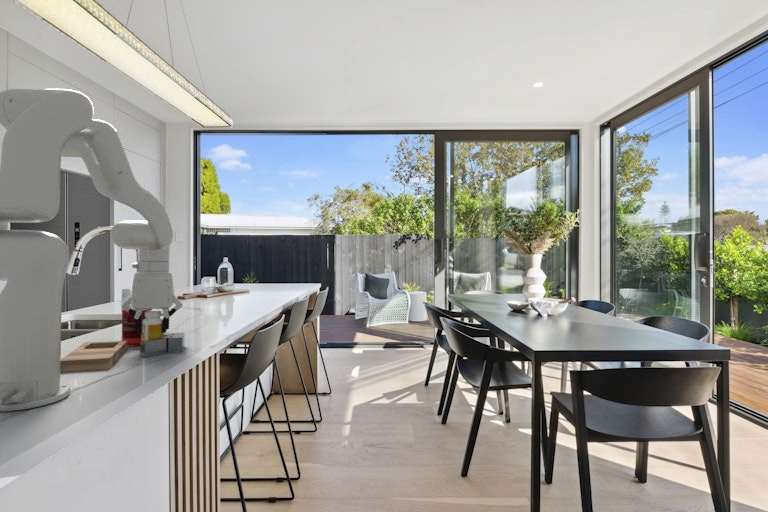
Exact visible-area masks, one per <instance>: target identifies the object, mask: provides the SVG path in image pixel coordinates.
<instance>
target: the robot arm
mask: <svg viewBox="0 0 768 512" xmlns="http://www.w3.org/2000/svg"><path fill="white" fill-rule="evenodd" d="M0 125H1V126H2V127H3V128H4V129H6V132H5V133H4V136H3V138H2V139H3V140H2V143H1V156H0V282H3V281H4V282H6V283H5V285H4V287H3V289H2V290H1V291H0V412H15V411H20V410H21V411H22V410H27V409H33V408H37V407H44V406H46V405H50V404H53V403H56V402H58V401H61V400H63V399H65V398H66V397H68V395H70V393H71V387H70V386H69V385H68V384H65V383H61V372H60V364H61V359H62V357H61V354H62V351H61V350H62V347H61V346H62V306H63V305H62V301H63V300H62V298H63V288H64V282H65V277H66V273H67V270H68V266H69V263H70V262H69V261H70V250H69V247H68V245H67V243H66V242H65V240H63V239H62V238H61V237H60V236H58V235H56V234H55V233H51V232H47V231H45V230H44V231H43V230H36V229H35V230H32V229H8V227H9V226H8V224H9V223H18V224H21V223H22V224H23V223H24V224H26V223H27V224H29V223H30V224H31V223H44V222H49V221H51V220H53V219H54V218H55V217H56V216H57V215H58V213H59V211H60V201H61V168H62V167H61V165H62V164H61V162H62V158H81V159H82V160H83V162H84V165H85V167H86V169H87V171H88V174H89V176H90V178H91V181H92V182H93V185H94V187H95V189H96V191H97V192H98V193H99V194H101V195H102V196H104V197H107V198H108V199H111V200H113V201H115V202H118V203H120V204H122V205H125V206H128V207H129V208H131V209H133V210H134V211H136V212H138V213H139V214H140V215H141V216H142V217H143V218H144V219H145V220H140V219H139V220H131V219H130V220H129V219H128V220H121V221H119V222H116V223H115V224H114V225H113V226H112V228H111V229H110V234H109V236H110V239H111V241H112V243H113V244H114V245H115V246H116V247H118V248H120V249H123V250H138V261H137V262H134V263H133V262H132V266H131V268H132V269H137V271H138V272H134V275H133V278H132V279H133V280H132V287H131V295H130V297H129V298H128V299H127V300H126V301H125V302H124V303H123V304H122V305H121V308H122V309H124V310H126V311H127V312H129V314H131V315H132V316H133V317H134V318H135V319H136V328H135V329H136V330H138V334H140V333H141V330H142V321H143V318H142V316H141V315H142V312H143V310H144V309H152V310H162V313H163V318H162V319H163V328H162V332H163V333H167V332H168V330H169V329H170V317H171V316H173V315H174V314H175V313H176V312H177V311H179V310H180V309H181V308H183V305H184V304H183V303H182V302H181V301H180V300H179V298H178V297H177V296H176V295H175V294H174V289H175V288H174V280H173V275H172V272H170V249H171V247H170V246H171V244H172V242H173V239H174V238H173V237H174V233H173V229H172V225H171V220H170V218H169V215H168V213H167V210H166V208H165V207H164V205H163V204H162V202H160V200H159V199H158V198H157V197H156V196H154V195H153V194H152V192H150V191H149V190H148V189H147V188H145V186H143V185H141V183H139V182H138V181H137V180H136V178H135V174H134V173H133V172H134V171H133V169H132V167H131V165H130V162H129V159H128V158H127V155H126V152H125V150H124V146H123V144H122V142H121V138H120V136H119V134H118V132H117V129H116V128H115V127H114V126H113V125H112V124H110V123H109V122H107V121H105V120H101V119H94V106H93V102H92V100H91V99H90V98H89V96H87V95H85V94H84V93H82V92H81V91H77V90H73V89H66V88H11V89H5V90H2V91H0ZM174 304H175V306H174V307H173V305H174ZM130 306H132V308H135V309H137V311H135V310H134V309H132V308H131V307H130ZM171 307H172V308H171ZM170 308H171V309H170Z"/></svg>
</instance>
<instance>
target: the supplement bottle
mask: <svg viewBox="0 0 768 512" xmlns="http://www.w3.org/2000/svg"><path fill="white" fill-rule="evenodd" d="M161 316H162V311H161V310H152V311H146V312H145V317H146V319H144V320H143V321H142V330H141V341H145V340H150V339H155V338H160V337H163V332H162V328H163V318H161Z"/></svg>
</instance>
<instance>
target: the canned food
mask: <svg viewBox="0 0 768 512" xmlns="http://www.w3.org/2000/svg"><path fill="white" fill-rule="evenodd" d="M130 307H131V308H132V306H131V305H130ZM132 309H134V310H135V311H137V309H135V308H132ZM146 311H153V309H144V310H143V312H142V315H141V316H142V318H143V320H144V319H146V317H145V312H146ZM135 328H136V319H135V318H134V317H133V316H132V315H131V314H129V312H127V311H126V310H124V309H123V308H122V311H121V341H127V347H139V346H140V341H141V333H140V334H138V330H136V329H135Z"/></svg>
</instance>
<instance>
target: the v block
mask: <svg viewBox="0 0 768 512" xmlns="http://www.w3.org/2000/svg"><path fill="white" fill-rule="evenodd" d="M185 334H186V333H185V332H171V333H170V332H169V333H168V332H166V333H163V337H160V338H155V339H150V340H145V341H140V347H139V357H140V358H148V357H153V356H158V355H161V354H167V353H183V351H184V348H185V338H186V337H185Z"/></svg>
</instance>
